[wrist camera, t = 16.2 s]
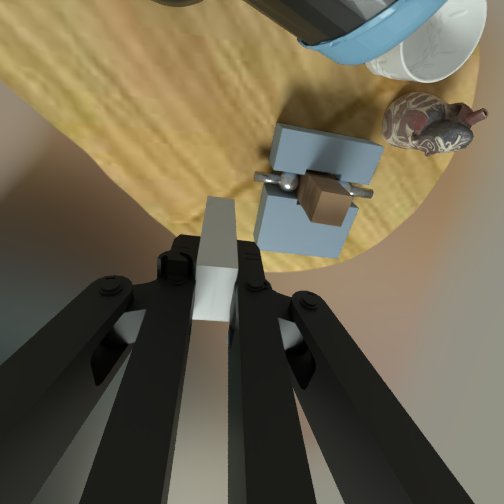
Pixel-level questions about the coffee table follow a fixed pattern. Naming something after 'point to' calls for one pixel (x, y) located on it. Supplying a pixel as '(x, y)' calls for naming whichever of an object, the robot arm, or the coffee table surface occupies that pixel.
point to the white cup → (435, 44)
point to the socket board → (297, 161)
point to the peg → (322, 198)
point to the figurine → (429, 124)
